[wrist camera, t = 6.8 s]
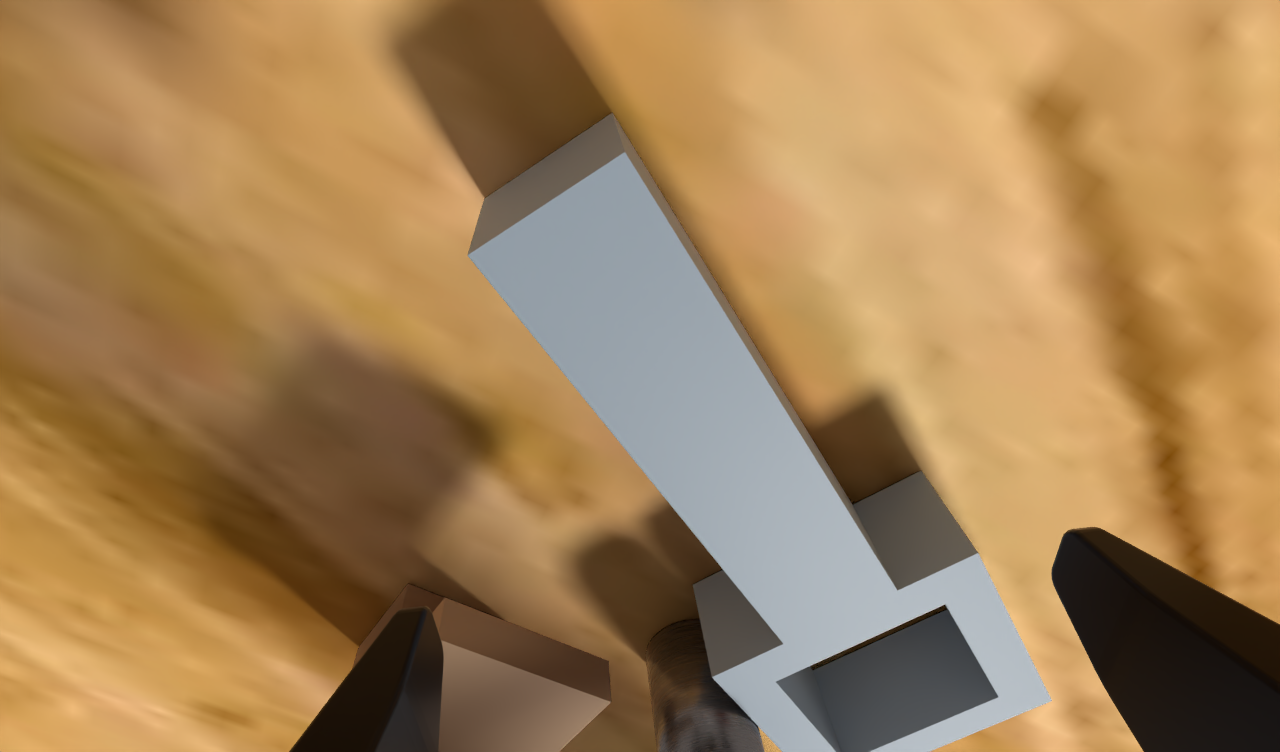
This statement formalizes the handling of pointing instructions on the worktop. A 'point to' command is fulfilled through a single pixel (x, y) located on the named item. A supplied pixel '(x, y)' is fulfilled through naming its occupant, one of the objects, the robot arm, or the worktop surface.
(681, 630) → the pintle
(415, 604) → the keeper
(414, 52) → the worktop surface
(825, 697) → the link
